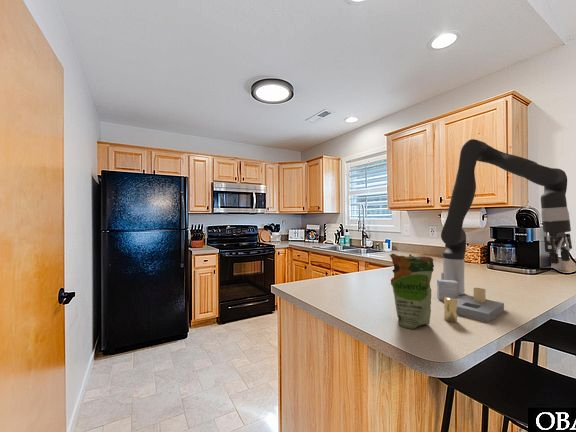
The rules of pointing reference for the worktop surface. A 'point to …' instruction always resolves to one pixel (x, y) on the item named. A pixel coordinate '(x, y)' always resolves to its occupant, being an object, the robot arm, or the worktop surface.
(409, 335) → the worktop surface
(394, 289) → the pouch
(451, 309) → the brass bushing
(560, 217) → the robot arm
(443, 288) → the medicine box
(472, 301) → the jig plate
